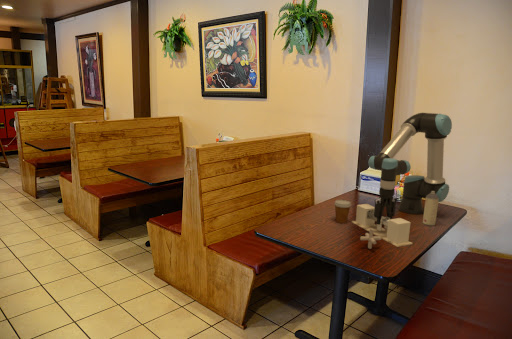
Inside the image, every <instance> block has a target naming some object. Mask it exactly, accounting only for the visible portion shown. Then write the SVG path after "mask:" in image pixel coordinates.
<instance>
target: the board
mask: <svg viewBox="0 0 512 339" xmlns="http://www.w3.org/2000/svg"><path fill="white" fill-rule="evenodd" d="M350 222H351V224H354V225H356V226H358V227H359V228H362V229H364V230H365V231H367V232H369V230H370V228H373V236H381V240H383V241H385V242H387V243H389V244H390V245H393V246H395V247H397V248H398V247H399V248H400V247H404V246H411V245H413V242H411V241H409V240H408V242H405V243H399V244H395V243H393V242H391V241H389V240H388V239H386V238H387V229H386V228H384V227H382V229H381V231H380V230H378V229H377V223H376V224H375V225H373V226H366V227H364V226H362V225H360V224H359V223H357V222H356V220H352V221H350Z"/></svg>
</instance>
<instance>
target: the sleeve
mask: <svg viewBox="0 0 512 339" xmlns="http://www.w3.org/2000/svg"><path fill="white" fill-rule="evenodd" d="M368 211H373V212H374V211H375V206H374V205H371V204H368V203H364V204H363V203H362V204H357V205H356V215H355V221H356V222H357V223H359V224H360V225H362V226H364V227H366V226H373V225H375V222H376V221H375V220H373V219H371V218H369V217H367V212H368Z"/></svg>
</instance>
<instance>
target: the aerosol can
mask: <svg viewBox="0 0 512 339" xmlns="http://www.w3.org/2000/svg"><path fill="white" fill-rule="evenodd" d="M438 201H439V197H438V196H437V195H436V194H435V191H431V193H430V194H428V195H426V199H425V202H424V207H423V216H422V225H424V226H427V227H435V226H436V222H437V215H438V207H439V202H438Z"/></svg>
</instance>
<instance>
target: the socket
mask: <svg viewBox="0 0 512 339" xmlns="http://www.w3.org/2000/svg"><path fill="white" fill-rule="evenodd" d="M411 224H412V222H410V221H408V220H406V219H404V218H401V217H397V218H391V219H390V220H388V229H386V230H387V238H386V239H388V240H389V241H391V242H393V243H395V244H399V243H405V242H408V241H409V237H410V230H411Z"/></svg>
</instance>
